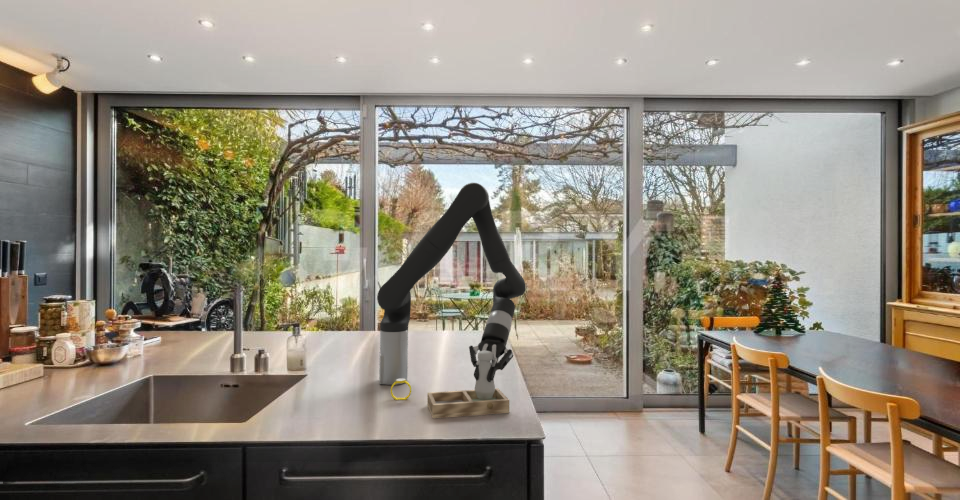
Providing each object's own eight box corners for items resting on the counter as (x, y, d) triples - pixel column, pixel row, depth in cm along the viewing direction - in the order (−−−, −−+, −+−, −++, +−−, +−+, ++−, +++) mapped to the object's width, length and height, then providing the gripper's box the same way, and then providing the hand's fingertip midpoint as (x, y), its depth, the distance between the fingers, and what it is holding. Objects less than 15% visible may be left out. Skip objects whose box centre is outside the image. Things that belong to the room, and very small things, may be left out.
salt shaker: (493, 401, 129) (493, 354, 129) (472, 399, 130) (473, 353, 130) (496, 394, 135) (497, 349, 135) (477, 393, 136) (477, 348, 136)
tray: (433, 418, 123) (433, 405, 123) (427, 404, 134) (427, 392, 134) (509, 413, 128) (509, 400, 128) (498, 400, 139) (498, 388, 139)
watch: (390, 402, 137) (389, 381, 137) (391, 399, 140) (390, 379, 139) (411, 400, 138) (410, 379, 137) (411, 397, 140) (410, 377, 140)
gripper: (472, 320, 142) (455, 370, 130) (517, 323, 137) (503, 375, 125) (478, 334, 147) (463, 384, 135) (522, 338, 142) (509, 390, 130)
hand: (482, 379), depth 131 cm, fingers closed on salt shaker, 3 cm apart
